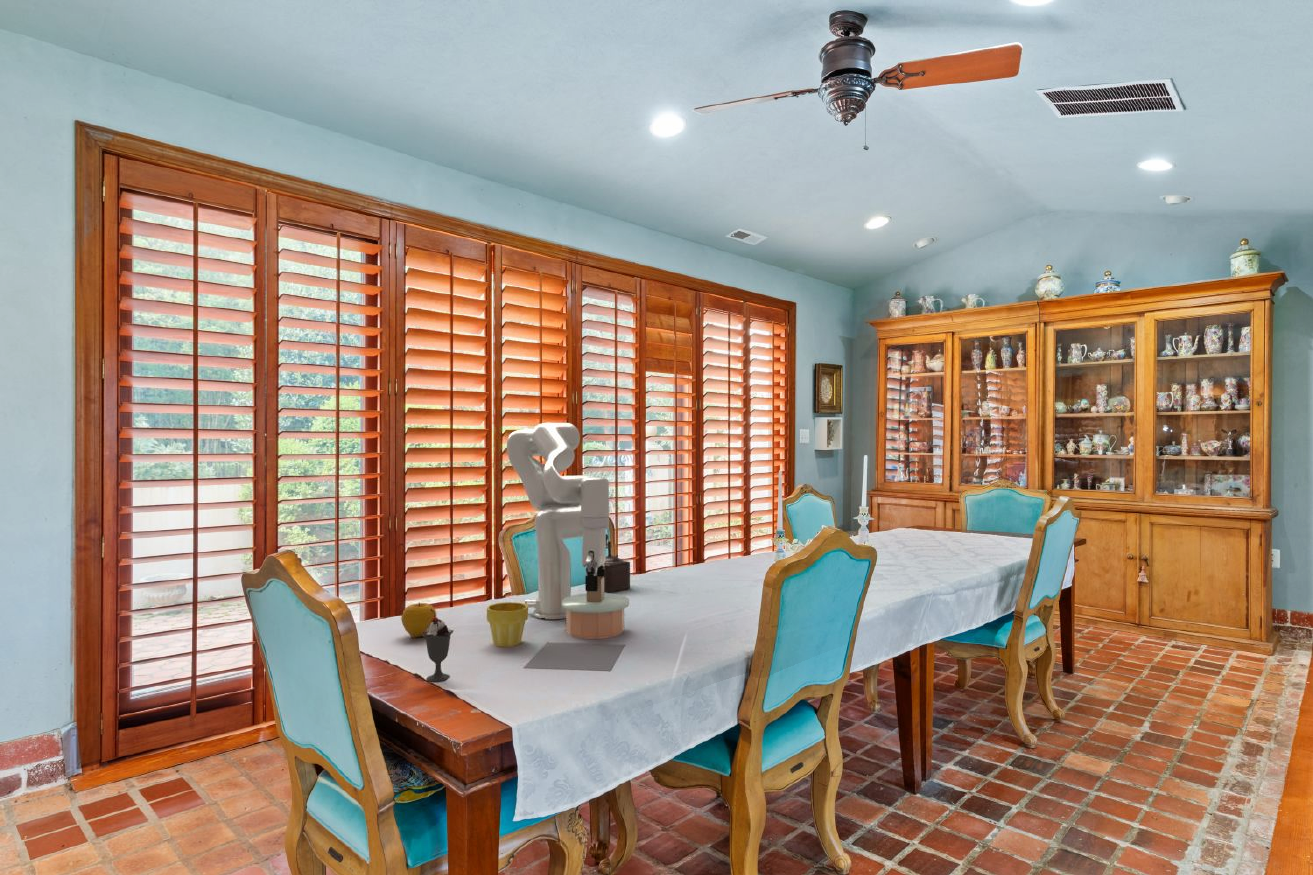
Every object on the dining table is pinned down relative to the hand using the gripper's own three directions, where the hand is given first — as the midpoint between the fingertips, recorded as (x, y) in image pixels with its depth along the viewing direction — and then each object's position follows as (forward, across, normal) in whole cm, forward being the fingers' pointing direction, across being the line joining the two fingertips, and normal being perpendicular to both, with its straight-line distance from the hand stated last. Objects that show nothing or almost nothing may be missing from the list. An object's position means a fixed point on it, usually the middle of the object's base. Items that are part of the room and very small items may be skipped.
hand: (595, 587), depth 192 cm
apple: (+12, +8, -46) cm, 48 cm away
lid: (+5, 0, 0) cm, 5 cm away
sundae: (+12, +39, -27) cm, 49 cm away
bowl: (+12, 0, 0) cm, 12 cm away
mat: (+12, +22, 0) cm, 25 cm away
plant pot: (+12, +13, -20) cm, 27 cm away
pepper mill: (+13, -57, -8) cm, 59 cm away
